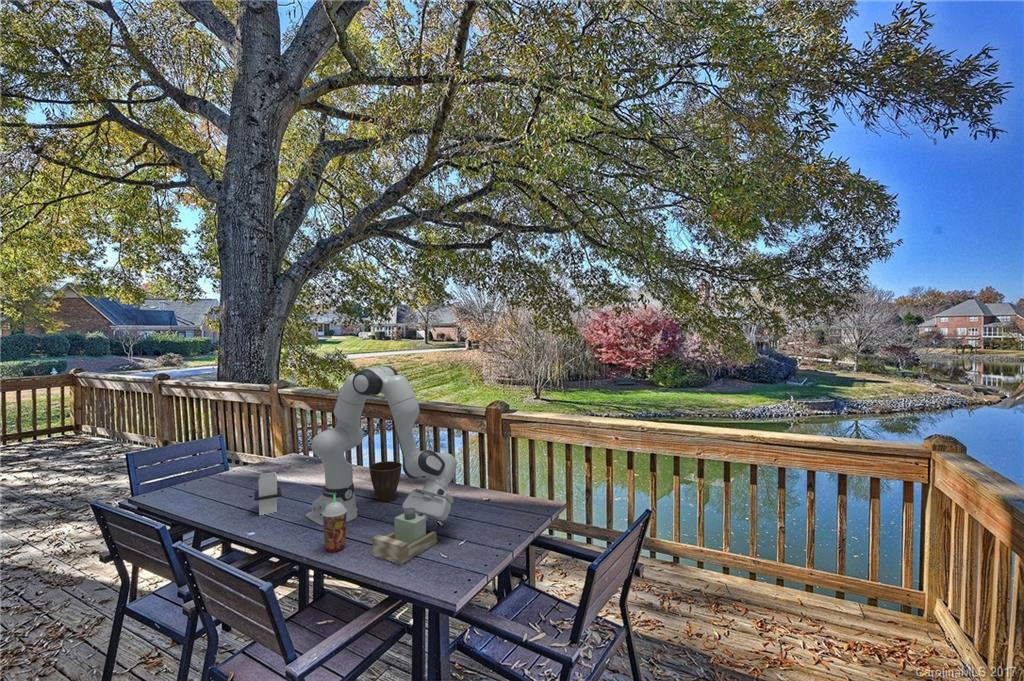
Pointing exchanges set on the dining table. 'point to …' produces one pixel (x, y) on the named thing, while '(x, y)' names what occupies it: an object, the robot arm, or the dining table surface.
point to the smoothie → (334, 526)
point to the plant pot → (385, 479)
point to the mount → (400, 547)
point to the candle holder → (267, 493)
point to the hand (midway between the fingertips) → (416, 526)
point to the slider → (409, 526)
